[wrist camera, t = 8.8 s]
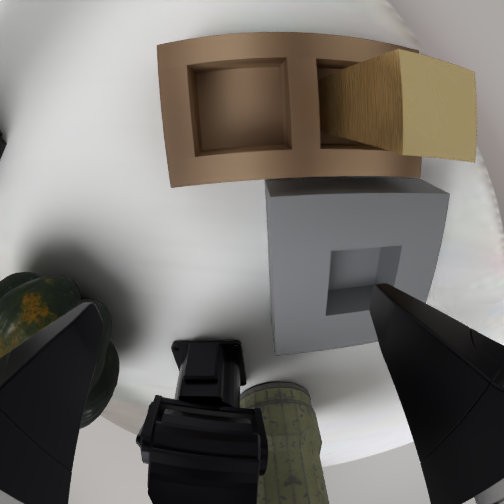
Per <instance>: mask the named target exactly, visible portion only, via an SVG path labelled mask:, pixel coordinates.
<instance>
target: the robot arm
mask: <svg viewBox="0 0 504 504" xmlns="http://www.w3.org/2000/svg"><path fill="white" fill-rule="evenodd" d="M369 311H370V315H371V318H372V321H373V325H374V328H375V331H376V335H377V338H378V342H379V345H380V349H381V352H382V354H383V357H384V359H385V362H386V364H387V367H388V370H389V372H390V375H391V377H392V380H393V382H394V385H395V388H396V390H397V393H398V396H399V399H400V401H401V404H402V407H403V410H404V413H405V416H406V419H407V421H408V424H409V427H410V431H411V434H412V437H413V440H414V443H415V446H416V450H417V453H418V456H419V459H420V462H421V467H422V471H423V474H424V478H425V481H426V485H427V489H428V493H429V498H430V502H431V504H462V503H464V502H466V501H468V500H469V499H471V498H473V497H474V498H475V501H476V503H477V504H504V346H503V345H501V344H499V343H497V342H495V341H493V340H491V339H489V338H488V337H486V336H484V335H482V334H480V333H478V332H477V331H475V330H473V329H471V328H470V329H469V327H468V326H466V325H464V324H462V323H461V322H459V321H457V320H455V319H453V318H451V317H450V316H448V315H446V314H444V313H442V312H440V311H439V310H437V309H435V308H433V307H431V306H429V305H427V304H426V303H424V302H422V301H420V300H418V299H416V298H414V297H412V296H411V295H409V294H407V293H405V292H403V291H401V290H399V289H397V288H395V287H393V286H391V285H389V284H388V283H380V284H375V285H374V286H373V289H372V295H371V300H370V305H369ZM103 328H104V325H103V321H102V318H101V316H100V314H99V311H98V309H97V307H96V305H95V304H94V303H82V304H80V305H79V306H77V307H76V308H74V309H73V310H71V311H69V312H68V313H66V314H65V315H63V316H62V317H60V318H59V319H57V320H56V321H54V322H52V323H51V324H49V325H48V326H46V327H45V328H43V329H42V330H40V331H39V332H37V333H36V334H34V335H33V336H32V337H30V338H29V339H27V340H26V341H24V342H23V343H21V344H20V345H18V346H17V347H15V348H14V349H13V350H11V351H10V352H8V353H7V354H5V355H4V356H3V357H1V358H0V504H68V498H69V490H70V482H71V475H72V472H71V471H72V467H73V461H74V455H75V449H76V444H77V439H78V434H79V429H80V425H81V420H82V416H83V412H84V408H85V404H86V400H87V396H88V392H89V388H90V384H91V381H92V377H93V374H94V370H95V366H96V362H97V357H98V352H99V347H100V342H101V338H102V333H103ZM234 345H237V346H234ZM176 347H178V348H176ZM171 349H172V352H173V355H174V358H175V360H176V363H177V366H178V369H179V371H180V372H179V377H178V383H177V388H176V394H175V399H170V398H164V397H162V396H159V395H156V396H155V398H154V401H153V402H151V404H150V405H149V409H148V414H147V417H146V419H145V422H144V424H143V426H142V428H141V430H140V432H139V433H138V435H137V438H136V443H137V444H138V445H139V447H140V448H141V455H142V461H143V463H146V464H149V468H148V495H149V497H150V499H151V501H152V503H153V504H257V491H258V481H259V476H263V475H264V474H265V472H266V469H267V463H268V442H267V436H266V432H265V427H264V422H263V417H262V412H261V408H256V407H254V408H241V407H240V386H244V385H246V373H245V366H244V359H243V351H242V344H241V342H240V341H238V340H230V341H206V342H174V343H173V344H172V346H171Z"/></svg>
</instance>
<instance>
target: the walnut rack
mask: <svg viewBox="0 0 504 504" xmlns="http://www.w3.org/2000/svg"><path fill="white" fill-rule="evenodd" d="M397 49H401V50H406V51H410V52H414V53H418V54H419V51H418V50H414V49H410V48H406V47H402V46H398V45H393V44H389V43H384V42H379V41H373V40H367V39H361V38H354V37H347V36H339V35H329V34H317V33H298V32H256V33H238V34H226V35H216V36H207V37H200V38H193V39H187V40H181V41H175V42H170V43H165V44H160V45H157V58H158V75H159V88H160V100H161V111H162V121H163V130H164V139H165V147H166V155H167V163H168V170H169V178H170V184H171V188H174V187H182V186H191V185H200V184H210V183H221V182H232V181H245V180H259V179H276V178H296V177H328V176H389V177H419V178H420V173H421V159H422V156H409V155H401V154H398V153H395V152H392V151H388V150H385V149H382V148H379V147H375V146H372V145H369V144H365V143H361V142H358V141H354V140H350V139H347V138H343V137H339V136H335V135H330V134H326V133H322V132H320V118H319V96H318V80H319V79H321V78H323V77H326V76H328V75H330V74H332V73H335V72H337V71H340V70H342V69H344V68H347V67H349V66H352V65H355V64H357V63H360V62H362V61H365V60H368V59H370V58H373V57H376V56H379V55H382V54H385V53H388V52H391V51H394V50H397Z"/></svg>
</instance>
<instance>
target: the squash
mask: <svg viewBox="0 0 504 504" xmlns="http://www.w3.org/2000/svg"><path fill="white" fill-rule="evenodd" d="M82 303H94V304H95V305H96V307H97V309H98V311H99V314H100V316H101V318H102V321H103V325H104V328H103V333H102V338H101V342H100V347H99V352H98V357H97V362H96V366H95V370H94V374H93V377H92V381H91V384H90V388H89V392H88V396H87V400H86V404H85V408H84V412H83V416H82V420H81V425H80V429H81V428H83V427H85V426H87V425H89V424H90V423H92V422H93V421H94V420H95V419H96V418H97V417H98V416H99V415H100V414H101V413H102V412H103V410H104V409H105V407H106V406H107V404H108V403H109V401H110V399H111V397H112V395H113V392H114V389H115V387H116V385H117V381H118V375H119V357H118V353H117V351H116V349H115V347H114V345H113V344H112V342H111V341H110V340H109V338H110V333H111V317H110V315H109V312H108V310H107V308H106V307H105V306H104V305H103V304H102V303H100V302H98V301H95V300H91V299H83V300H81V296H80V291H79V289H78V287H77V286H76V284H75V283H74V281H72V280H71V279H69V278H65V277H63V276H45V277H42V276H40V275H38V274H35V273H31V272H21V273H15V274H12V275H9V276H7V277H6V278H4V279H3V280H1V281H0V358H1V357H3V356H4V355H5V354H7V353H8V352H10V351H11V350H13V349H14V348H15V347H17V346H18V345H20V344H21V343H23V342H24V341H26V340H27V339H29V338H30V337H32V336H33V335H34V334H36V333H37V332H39V331H40V330H42V329H43V328H45V327H46V326H48V325H49V324H51V323H52V322H54V321H56V320H57V319H59V318H60V317H62V316H63V315H65V314H66V313H68V312H69V311H71V310H73V309H74V308H76V307H77V306H79V305H80V304H82Z"/></svg>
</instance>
